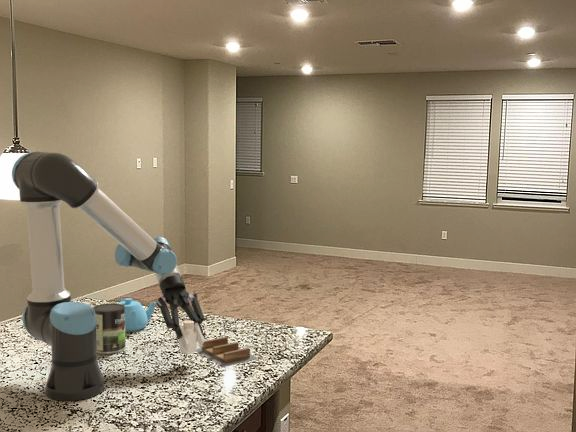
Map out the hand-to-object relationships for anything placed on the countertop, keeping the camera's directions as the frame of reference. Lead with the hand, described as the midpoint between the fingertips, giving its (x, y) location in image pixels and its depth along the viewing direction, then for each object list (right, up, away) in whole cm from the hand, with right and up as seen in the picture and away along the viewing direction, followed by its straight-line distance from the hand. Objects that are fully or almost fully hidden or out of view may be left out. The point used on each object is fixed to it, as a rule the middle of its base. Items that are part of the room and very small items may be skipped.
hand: (194, 344), depth 187 cm
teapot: (-30, -2, +42) cm, 51 cm away
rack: (+8, -6, +13) cm, 16 cm away
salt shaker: (-2, -3, +3) cm, 5 cm away
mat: (+8, -6, +13) cm, 17 cm away
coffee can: (-30, -5, +18) cm, 36 cm away
